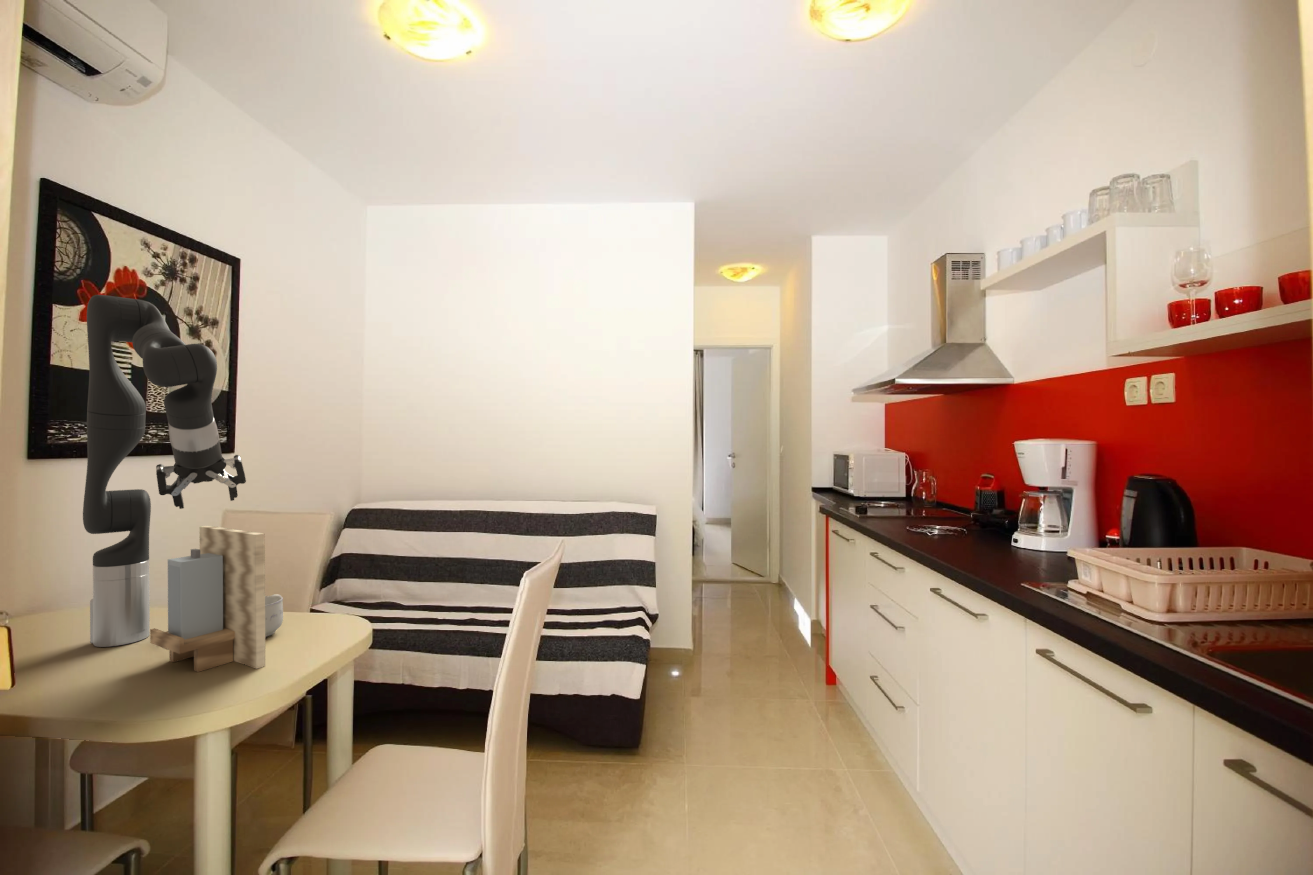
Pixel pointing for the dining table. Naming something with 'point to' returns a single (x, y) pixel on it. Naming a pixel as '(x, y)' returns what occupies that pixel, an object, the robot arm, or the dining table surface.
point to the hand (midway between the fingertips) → (207, 502)
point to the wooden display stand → (229, 604)
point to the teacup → (273, 613)
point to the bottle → (195, 594)
